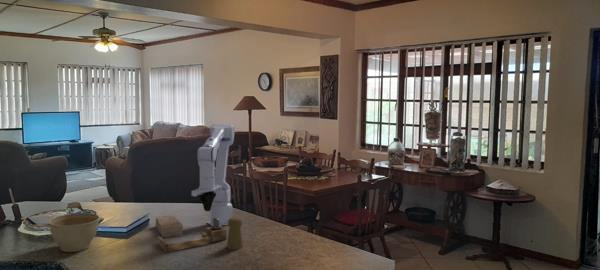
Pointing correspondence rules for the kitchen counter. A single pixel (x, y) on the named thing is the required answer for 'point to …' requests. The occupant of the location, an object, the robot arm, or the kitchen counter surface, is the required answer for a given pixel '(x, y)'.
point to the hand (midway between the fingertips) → (207, 210)
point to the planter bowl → (74, 230)
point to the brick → (169, 226)
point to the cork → (235, 233)
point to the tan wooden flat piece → (185, 243)
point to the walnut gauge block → (216, 234)
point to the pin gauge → (215, 224)
